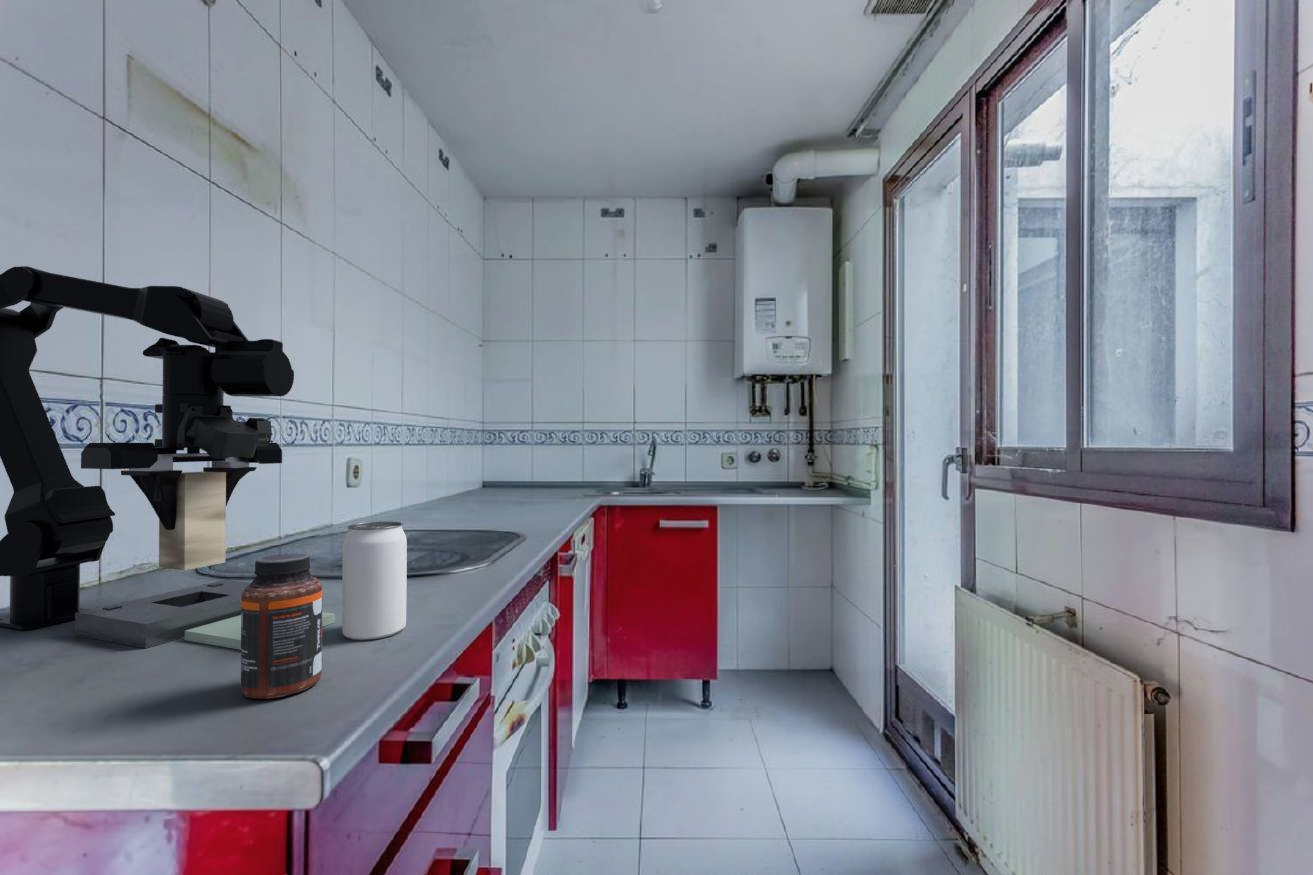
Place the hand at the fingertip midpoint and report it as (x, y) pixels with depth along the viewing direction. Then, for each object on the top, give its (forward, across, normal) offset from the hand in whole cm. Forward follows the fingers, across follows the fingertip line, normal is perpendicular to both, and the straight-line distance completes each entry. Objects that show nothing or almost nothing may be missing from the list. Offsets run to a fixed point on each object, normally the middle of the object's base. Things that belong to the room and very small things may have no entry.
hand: (192, 526), depth 69 cm
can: (+11, +4, -24) cm, 27 cm away
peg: (+4, 0, 0) cm, 4 cm away
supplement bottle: (+11, -10, -28) cm, 32 cm away
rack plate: (+11, 0, 0) cm, 11 cm away
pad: (+11, 0, -12) cm, 16 cm away
